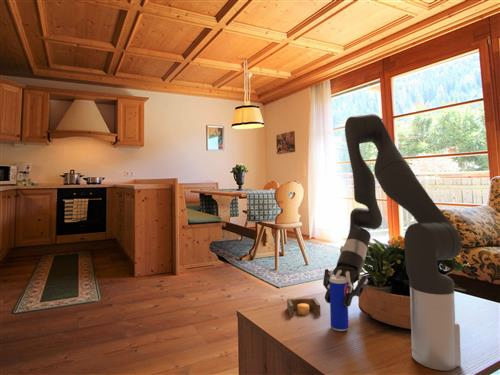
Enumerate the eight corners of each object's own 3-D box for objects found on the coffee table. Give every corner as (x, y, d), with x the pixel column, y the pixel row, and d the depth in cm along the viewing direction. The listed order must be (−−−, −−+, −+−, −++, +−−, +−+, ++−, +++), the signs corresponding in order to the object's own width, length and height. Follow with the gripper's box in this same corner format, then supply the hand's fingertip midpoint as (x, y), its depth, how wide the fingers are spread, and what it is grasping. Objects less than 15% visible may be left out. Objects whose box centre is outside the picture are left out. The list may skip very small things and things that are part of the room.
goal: (315, 307, 107) (315, 297, 107) (320, 315, 100) (320, 305, 100) (287, 308, 106) (287, 298, 106) (290, 316, 99) (290, 305, 99)
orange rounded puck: (307, 310, 105) (307, 303, 105) (310, 314, 101) (310, 307, 101) (296, 310, 104) (296, 303, 104) (299, 315, 100) (299, 307, 100)
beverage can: (349, 332, 87) (348, 280, 87) (331, 331, 88) (329, 279, 88) (347, 324, 92) (346, 275, 92) (330, 323, 93) (328, 275, 93)
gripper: (328, 247, 101) (309, 292, 92) (371, 252, 91) (355, 303, 82) (336, 260, 104) (319, 304, 95) (378, 266, 95) (363, 316, 86)
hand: (336, 303), depth 89 cm, fingers closed on beverage can, 5 cm apart
